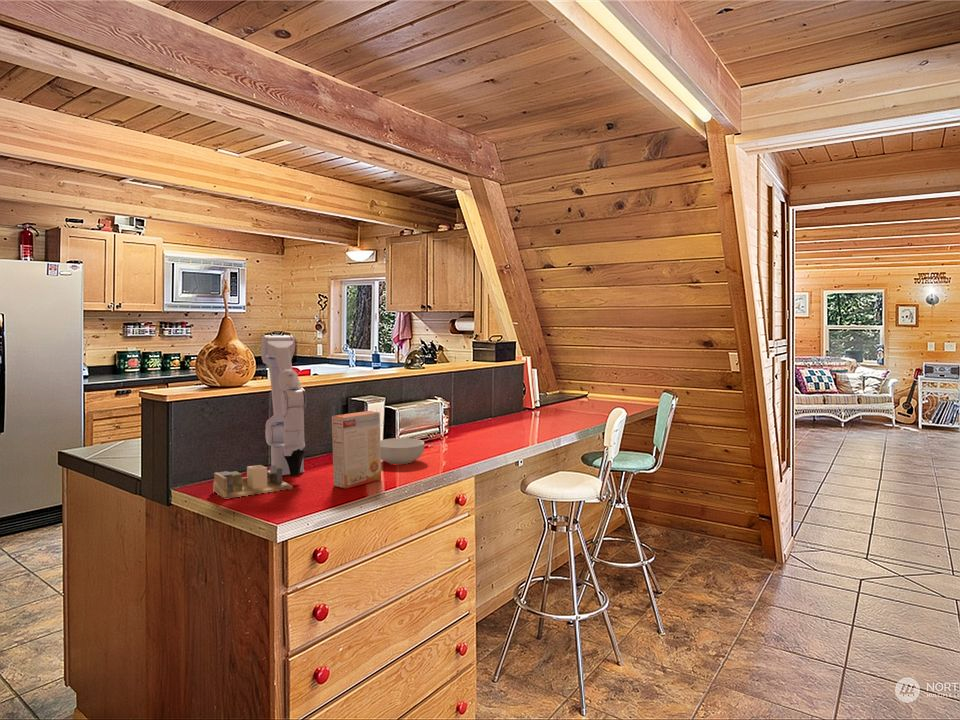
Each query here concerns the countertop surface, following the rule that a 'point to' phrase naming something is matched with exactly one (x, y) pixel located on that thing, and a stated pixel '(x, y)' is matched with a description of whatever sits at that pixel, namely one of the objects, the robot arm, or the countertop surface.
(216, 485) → the shelf
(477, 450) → the countertop surface
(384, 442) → the cereal bowl
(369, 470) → the cracker box
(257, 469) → the beige wooden cube
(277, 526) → the countertop surface
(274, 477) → the bookend
